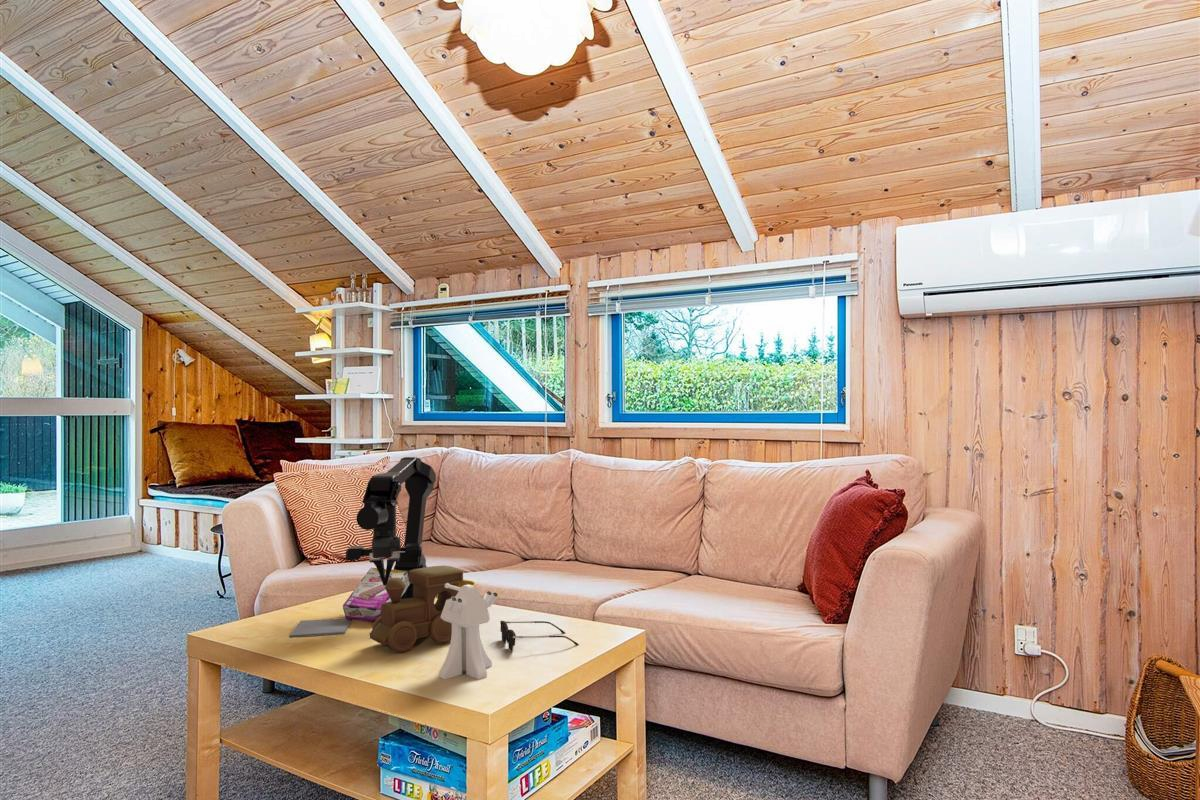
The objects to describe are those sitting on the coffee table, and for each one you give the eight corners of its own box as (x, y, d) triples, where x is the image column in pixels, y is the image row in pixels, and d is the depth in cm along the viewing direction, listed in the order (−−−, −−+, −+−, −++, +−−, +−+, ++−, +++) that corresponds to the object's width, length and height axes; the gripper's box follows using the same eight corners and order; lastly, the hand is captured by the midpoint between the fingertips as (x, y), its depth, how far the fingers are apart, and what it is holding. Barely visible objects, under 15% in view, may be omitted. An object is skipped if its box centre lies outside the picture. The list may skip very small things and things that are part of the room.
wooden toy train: (443, 630, 199) (443, 563, 199) (466, 640, 190) (465, 570, 190) (366, 646, 186) (365, 574, 186) (386, 657, 177) (386, 582, 177)
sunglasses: (499, 640, 191) (500, 619, 191) (563, 637, 196) (564, 616, 196) (512, 656, 178) (513, 633, 178) (581, 653, 183) (582, 631, 183)
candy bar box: (341, 604, 206) (370, 566, 220) (345, 620, 208) (373, 581, 222) (382, 608, 204) (408, 569, 218) (385, 624, 206) (410, 584, 220)
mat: (352, 619, 210) (352, 617, 210) (344, 634, 197) (344, 631, 197) (300, 622, 208) (300, 620, 208) (289, 637, 194) (289, 635, 194)
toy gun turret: (470, 657, 176) (469, 575, 176) (506, 671, 166) (505, 584, 167) (422, 670, 168) (421, 584, 168) (458, 685, 158) (457, 593, 158)
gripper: (342, 530, 196) (343, 594, 196) (420, 527, 199) (421, 590, 199) (348, 524, 207) (349, 584, 207) (422, 521, 210) (422, 581, 210)
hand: (385, 585), depth 205 cm, fingers closed
